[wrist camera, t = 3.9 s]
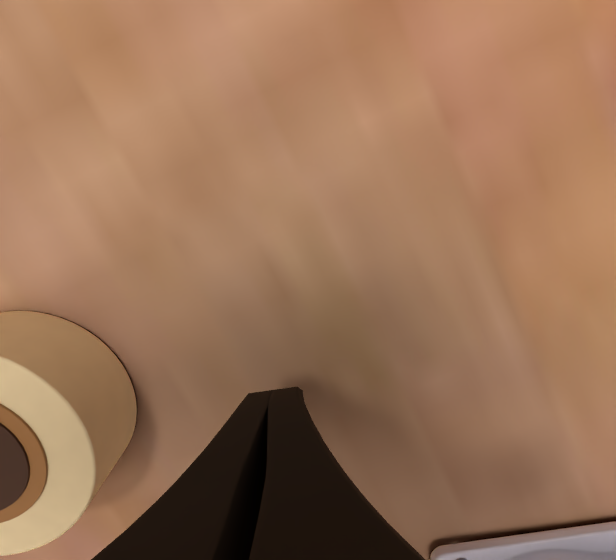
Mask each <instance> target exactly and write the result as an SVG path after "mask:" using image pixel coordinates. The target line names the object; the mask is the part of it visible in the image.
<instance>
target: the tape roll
mask: <svg viewBox="0 0 616 560" xmlns="http://www.w3.org/2000/svg"><path fill="white" fill-rule="evenodd" d="M136 416H137V406H136V398H135V393H134V389H133V386H132V383H131V380H130V378H129V376H128V374H127V372H126V370H125V368H124V367H123V365H122V364H121V362H120V361H119V359H118V358H117V357H116V355H115V354H114V353H113V352H112V351H111V350H110V349H109V348H108V347H107V346H106V345H105V344H104V343H103V342H102V341H101V340H99V339H98V338H97V337H96V336H94V335H93V334H91V333H90V332H88V331H87V330H85V329H84V328H82V327H80V326H78V325H76V324H74V323H72V322H70V321H67V320H65V319H62V318H60V317H56V316H53V315H49V314H45V313H39V312H33V311H7V312H0V556H5V555H13V554H18V553H23V552H26V551H30V550H33V549H36V548H39V547H41V546H43V545H45V544H48V543H50V542H51V541H53V540H55V539H56V538H58V537H59V536H61V535H62V534H64V533H65V532H66V531H67V530H69V529H70V528H71V527H72V526H73V525H74V524H75V523H76V522H77V521H78V519H79V518H80V517H81V516H82V515H83V513H84V511H85V510H86V508H87V507H88V505H89V504H90V502H91V501H92V499H93V498H94V496H95V495H96V493H97V492H98V490H99V489H100V487H101V486H102V484H103V483H104V481H105V480H106V478H107V477H108V475H109V474H110V472H111V471H112V469H113V467H114V466H115V464H116V463H117V461H118V460H119V458H120V457H121V455H122V454H123V452H124V451H125V449H126V448H127V446H128V444H129V442H130V440H131V438H132V435H133V433H134V429H135V425H136Z"/></svg>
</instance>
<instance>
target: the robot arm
mask: <svg viewBox="0 0 616 560" xmlns="http://www.w3.org/2000/svg"><path fill="white" fill-rule="evenodd" d="M91 560H425V559H424V558H423V557H422V556H421V555H420V554H419V553H418V552H417V551H416V550H415V549H414V548H413V547H412V546H411V545H410V544H409V543H408V542H407V541H406V540H405V539H404V538H403V537H402V536H401V535H400V534H399V533H398V532H397V531H396V530H395V529H394V528H393V527H392V526H391V525H389V524H388V523H387V521H386V520H385V519H384V518H383V517H382V516H381V515H380V514H379V513H378V512H377V510H376V509H375V508H374V507H373V506H372V505H371V504H370V503H369V501H368V500H367V499H366V498H365V497H364V496H363V494H362V493H361V492H360V491H359V489H358V488H357V487H356V486H355V485H354V483H353V482H352V481H351V480H350V478H349V477H348V476H347V474H346V473H345V472H344V470H343V469H342V467H341V466H340V465H339V463H338V462H337V460H336V459H335V457H334V456H333V454H332V453H331V452H330V450H329V448H328V447H327V445H326V444H325V442H324V441H323V439H322V437H321V435H320V433H319V432H318V430H317V428H316V426H315V425H314V423H313V421H312V419H311V417H310V414H309V412H308V410H307V408H306V405H305V402H304V397H303V390H301V389H300V388H299V387H292V388H284V389H277V390H270V391H263V392H255V393H249V394H248V395H247V396H246V397H245V399H244V400H243V401H242V402H241V404H240V405H239V406H238V407H237V409H236V410H235V411H234V413H233V414H232V415H231V417H230V418H229V419H228V421H227V422H226V423H225V424H224V426H223V427H222V428H221V430H220V431H219V432H218V433H217V435H216V436H215V437H214V438H213V439H212V441H211V442H210V443H209V444H208V446H207V447H206V448H205V449H204V451H203V452H202V453H201V454H200V455H199V456H198V457H197V458H196V460H195V461H194V462H193V463H192V464H191V465H190V466H189V467H188V469H187V470H186V471H185V472H184V473H183V474H182V475H181V476H180V478H179V479H178V480H177V481H176V482H175V483H174V484H173V485H172V486H171V487H170V488H169V489H168V490H167V491H166V492H165V493H164V494H163V495H162V496H161V497H160V498H159V499H158V500H157V501H156V502H155V503H154V504H153V505H152V506H151V507H150V508H149V509H148V510H147V511H146V512H145V513H144V514H143V515H142V516H141V517H139V518H138V519H137V520H136V521H135V522H134V523H133V524H132V525H131V526H130V527H129V528H128V529H127V530H125V531H124V532H123V533H122V534H121V535H120V536H119V537H117V538H116V539H115V540H114V541H113V542H112V543H110V544H109V545H108V546H107V547H106V548H104V549H103V550H102V551H101V552H100V553H98V554H97V555H96V556H95V557H94V558H93V559H91ZM430 560H616V521H613V522H606V523H599V524H592V525H585V526H577V527H570V528H563V529H556V530H548V531H541V532H534V533H527V534H520V535H512V536H505V537H498V538H491V539H484V540H476V541H469V542H462V543H455V544H448V545H441V546H438V547H437V548H435V549H434V550H433V551H432V553H431V557H430Z"/></svg>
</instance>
